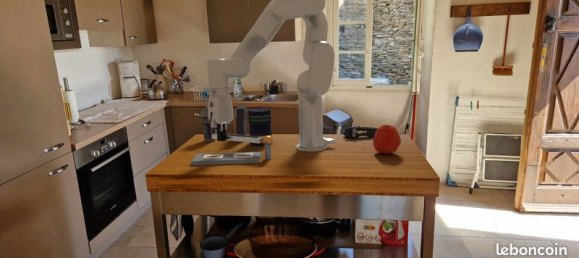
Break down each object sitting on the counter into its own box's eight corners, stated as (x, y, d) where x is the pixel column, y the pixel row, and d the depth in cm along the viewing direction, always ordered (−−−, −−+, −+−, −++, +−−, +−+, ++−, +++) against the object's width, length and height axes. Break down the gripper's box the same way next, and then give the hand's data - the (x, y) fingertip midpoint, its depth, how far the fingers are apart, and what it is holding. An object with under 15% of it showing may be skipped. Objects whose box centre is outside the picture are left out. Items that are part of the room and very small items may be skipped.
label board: (271, 155, 149) (271, 139, 148) (271, 162, 139) (270, 146, 138) (197, 157, 149) (196, 142, 148) (191, 165, 139) (190, 149, 138)
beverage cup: (220, 140, 178) (217, 96, 174) (215, 143, 171) (212, 98, 167) (204, 140, 178) (201, 96, 174) (199, 144, 171) (196, 98, 167)
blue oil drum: (271, 146, 163) (270, 111, 160) (248, 147, 163) (246, 111, 160) (273, 141, 173) (271, 107, 170) (250, 141, 173) (249, 108, 170)
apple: (406, 152, 147) (406, 125, 145) (382, 156, 143) (383, 128, 141) (389, 147, 156) (390, 121, 154) (367, 150, 152) (367, 123, 150)
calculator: (239, 136, 183) (237, 105, 180) (248, 136, 183) (246, 104, 180) (236, 142, 172) (234, 108, 169) (245, 142, 172) (244, 108, 169)
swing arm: (274, 141, 144) (274, 135, 144) (268, 144, 141) (268, 137, 140) (218, 136, 156) (218, 130, 156) (212, 138, 153) (211, 132, 152)
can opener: (345, 140, 170) (345, 127, 169) (342, 137, 177) (342, 124, 176) (385, 138, 172) (386, 126, 171) (380, 135, 179) (381, 123, 177)
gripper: (214, 94, 136) (217, 146, 140) (239, 90, 149) (241, 137, 153) (197, 94, 140) (201, 144, 143) (223, 90, 153) (225, 136, 156)
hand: (221, 140), depth 148 cm, fingers closed
